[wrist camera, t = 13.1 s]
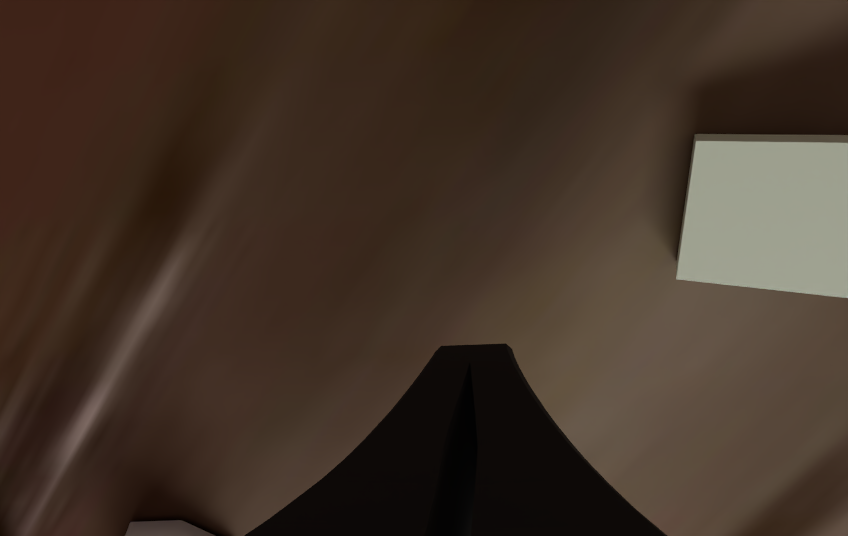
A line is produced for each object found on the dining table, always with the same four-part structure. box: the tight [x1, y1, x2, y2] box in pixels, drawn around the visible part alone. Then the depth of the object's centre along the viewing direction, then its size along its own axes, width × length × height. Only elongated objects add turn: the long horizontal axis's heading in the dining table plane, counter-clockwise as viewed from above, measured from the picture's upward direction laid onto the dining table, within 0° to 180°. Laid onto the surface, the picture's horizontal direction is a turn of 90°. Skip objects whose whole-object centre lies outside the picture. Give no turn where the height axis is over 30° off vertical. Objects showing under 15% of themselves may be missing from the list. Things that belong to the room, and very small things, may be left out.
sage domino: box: [676, 134, 848, 298], centre depth 15 cm, size 2×4×7 cm
